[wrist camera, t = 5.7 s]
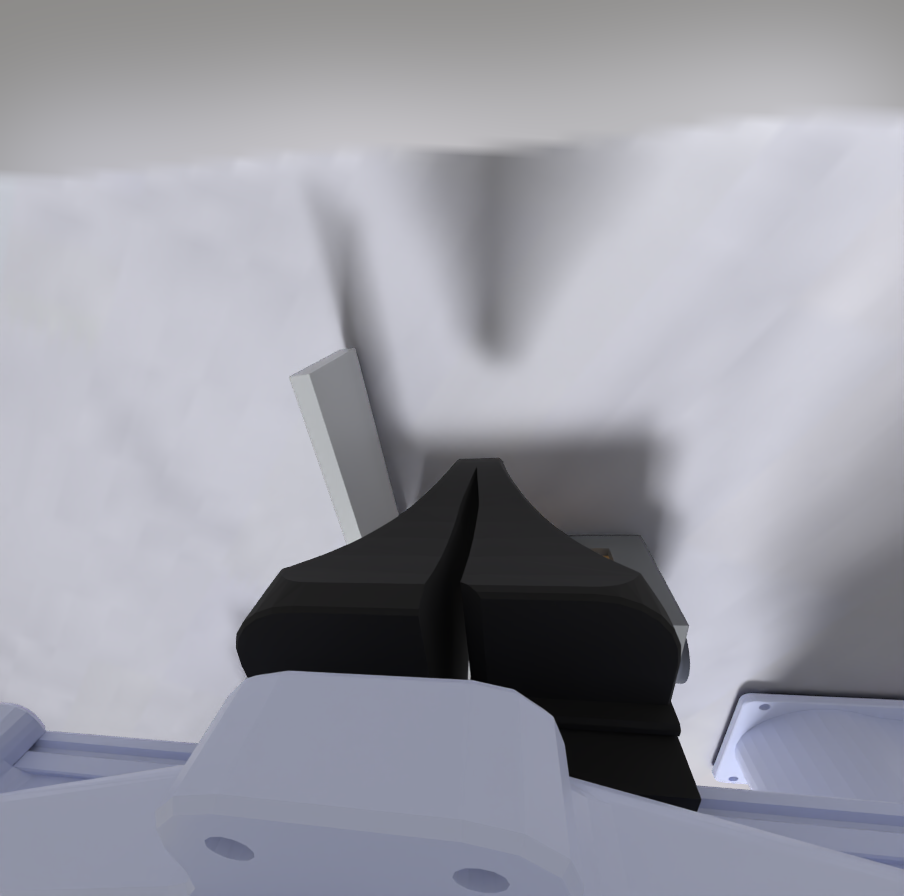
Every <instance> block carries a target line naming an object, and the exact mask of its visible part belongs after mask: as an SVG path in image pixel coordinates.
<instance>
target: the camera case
mask: <svg viewBox="0 0 904 896" xmlns="http://www.w3.org/2000/svg"><path fill="white" fill-rule="evenodd" d="M569 537H570V538H572V539H574V540H575V541H577V542H578V543H580V544H582V545H583V546H585V547H587V548H589V549H591V550H592V551H594V552H596V553H598V554H600V555H602V556H604V557H606V558H608V559H610V560H613V561H615V562H617V563H619V564H622V565H624V566H626V567H628V568H631V569H633V570H635V571H637V572H639V573H641V574H642V576H643V577H644V579H645V580H646V581H647V583H648V584H649V586H650V587H651V589H652V590H653V592H654V593H655V595H656V596H657V598H658V599H659V601H660V602H661V604H662V606H663V607H664V609H665V610H666V612H667V614H668V616H669V618H670V620H671V622H672V624H673V626H674V628H675V631H676V633H677V636H678V638H679V641H680V643H681V662H680V666H679V670H678V674H677V678H676V682H675V683H680V684H683V683H685V682H686V681H687V679H688V676H689V670H690V657H689V649H688V643H687V639H686V636H687V632H688V628H689V625H688V623H687V621H686V619H685V617H684V615H683V614H682V612H681V610H680V608H679V606H678V604H677V602H676V601H675V599H674V597H673V595H672V593H671V591H670V589H669V588H668V586H667V584H666V582H665V580H664V578H663V576H662V575H661V573H660V571H659V569H658V567H657V565H656V563H655V562H654V560H653V558H652V556H651V554H650V552H649V550H648V549H647V547H646V545H645V543H644V541H643V539H642V537H641V536H569ZM470 676H471V675H470V666H469V667H468V680H470Z"/></svg>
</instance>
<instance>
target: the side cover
mask: <svg viewBox="0 0 904 896" xmlns="http://www.w3.org/2000/svg"><path fill="white" fill-rule="evenodd" d="M289 379H290V382H291V385H292V388H293V391H294V393H295V396H296V399H297V402H298V405H299V408H300V411H301V414H302V417H303V419H304V422H305V425H306V428H307V431H308V434H309V437H310V440H311V443H312V446H313V448H314V451H315V454H316V457H317V460H318V463H319V466H320V469H321V472H322V475H323V477H324V480H325V483H326V486H327V489H328V492H329V495H330V498H331V501H332V504H333V506H334V509H335V512H336V515H337V518H338V521H339V524H340V527H341V530H342V532H343V535H344V538H345V541H346V544H347V545H348V544H350V543H352V542H354V541H356V540H358V539H360V538H362V537H364V536H366V535H368V534H369V533H371V532H373V531H375V530H376V529H378V528H380V527H382V526H383V525H385V524H387V523H388V522H390V521H392V520H393V519H395V518H396V517H397V516H399V514H398V510H397V506H396V502H395V499H394V495H393V491H392V487H391V483H390V479H389V476H388V472H387V468H386V464H385V460H384V456H383V453H382V449H381V445H380V441H379V437H378V433H377V430H376V426H375V422H374V418H373V414H372V410H371V406H370V403H369V399H368V395H367V391H366V387H365V383H364V380H363V376H362V372H361V368H360V364H359V360H358V357H357V353H356V349H355V348H349V349H342V350H338V351H337V352H335V353H333V354H331V355H329V356H327V357H325V358H323V359H322V360H320V361H318V362H316V363H314V364H312V365H310V366H308V367H307V368H305V369H303V370H301V371H299V372H297V373H295V374H293V375H292V376H290V377H289Z"/></svg>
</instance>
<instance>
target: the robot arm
mask: <svg viewBox="0 0 904 896" xmlns="http://www.w3.org/2000/svg"><path fill="white" fill-rule="evenodd" d="M236 649H237V653H238V656H239V659H240V662H241V665H242V667H243V669H244V671H245V673H246V675H247V677H248V678H246V679H245V680H244V681H243V682H242V683H241V684H240V685H239V686H238V687H237V688H236V689H235V690H234V691H233V692H232V693H231V694H230V695H229V696H228V697H227V699H226V701H225V702H224V704H223V705H222V707H221V708H220V710H219V712H218V713H217V715H216V716H215V718H214V719H213V721H212V723H211V724H210V726H209V727H208V729H207V731H206V732H205V734H204V735H203V737H202V738H201V740H200V742H199V743H187V742H175V741H163V740H151V739H139V738H127V737H115V736H104V735H92V734H80V733H68V732H56V731H46V730H45V725H44V724H43V723H42V721H41V720H40V719H39V718H38V717H37V716H36V715H35V714H34V713H33V712H32V711H30V710H29V709H27V708H25V707H23V706H21V705H18V704H13V703H4V702H0V896H904V700H889V699H867V698H845V697H824V696H802V695H780V694H758V693H747V694H744V695H742V696H741V697H740V699H739V701H738V704H737V706H736V709H735V712H734V714H733V717H732V720H731V722H730V725H729V727H728V730H727V733H726V735H725V738H724V740H723V743H722V746H721V748H720V751H719V753H718V756H717V759H716V761H715V764H714V766H713V769H712V773H713V776H714V778H715V779H716V780H717V781H719V782H726V783H739V784H748V785H749V787H750V789H751V790H743V789H732V788H720V787H708V786H696V783H695V781H694V778H693V776H692V773H691V770H690V768H689V765H688V763H687V760H686V757H685V755H684V752H683V749H682V747H681V744H680V742H679V739H678V736H680V733H681V728H680V723H679V721H678V718H677V716H676V713H675V711H674V708H673V705H672V703H671V698H672V694H673V690H674V686H675V682H676V678H677V674H678V670H679V666H680V662H681V643H680V641H679V638H678V636H677V633H676V631H675V628H674V626H673V624H672V622H671V620H670V618H669V616H668V614H667V612H666V610H665V609H664V607H663V606H662V604H661V602H660V601H659V599H658V598H657V596H656V595H655V593H654V592H653V590H652V589H651V587H650V586H649V584H648V583H647V581H646V580H645V579H644V577H643V576H642V574H641V573H639V572H637V571H635V570H633V569H631V568H628V567H626V566H624V565H622V564H619V563H617V562H615V561H613V560H610V559H608V558H606V557H604V556H602V555H600V554H598V553H596V552H594V551H592V550H591V549H589V548H587V547H585V546H583V545H582V544H580V543H578V542H577V541H575V540H574V539H572V538H570V537H569V536H568V535H566V534H565V533H563V532H562V531H560V530H559V529H558V528H556V527H555V526H554V525H552V524H551V523H550V522H549V521H548V520H546V519H545V518H544V517H543V516H542V515H541V514H540V513H539V512H538V511H537V510H536V509H535V508H534V507H533V506H532V505H531V504H530V503H529V501H528V500H527V499H526V498H525V497H524V496H523V494H522V493H521V492H520V490H519V489H518V488H517V486H516V485H515V484H514V482H513V481H512V479H511V478H510V476H509V474H508V472H507V471H506V469H505V466H504V464H503V461H502V460H501V459H500V458H481V459H459V460H458V461H457V462H456V463H455V464H454V465H453V466H452V467H451V468H450V470H449V471H448V472H447V473H446V474H445V475H444V476H443V477H442V478H441V479H440V480H439V481H438V483H437V484H436V485H435V486H434V487H433V488H432V489H431V490H430V491H428V492H427V493H426V494H425V495H424V496H423V497H422V498H421V499H420V500H418V501H417V502H416V503H415V504H414V505H412V506H411V507H410V508H409V509H407V510H406V511H405V512H403V513H402V514H400V515H399V516H397V517H396V518H395V519H393V520H392V521H390V522H388V523H387V524H385V525H383V526H382V527H380V528H378V529H376V530H375V531H373V532H371V533H369V534H368V535H366V536H364V537H362V538H360V539H358V540H356V541H354V542H352V543H350V544H348V545H345V546H343V547H341V548H339V549H336V550H334V551H332V552H329V553H327V554H324V555H322V556H319V557H316V558H313V559H310V560H308V561H305V562H302V563H299V564H296V565H293V566H291V567H287V568H284V569H282V570H281V571H280V572H279V574H278V575H277V576H276V578H275V579H274V580H273V582H272V583H271V584H270V586H269V587H268V588H267V590H266V591H265V593H264V594H263V595H262V597H261V598H260V600H259V601H258V602H257V604H256V605H255V606H254V608H253V609H252V611H251V612H250V613H249V615H248V616H247V617H246V619H245V620H244V622H243V623H242V625H241V627H240V629H239V631H238V632H237V636H236ZM469 666H470V675H471V676H470V680H468V667H469Z"/></svg>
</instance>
